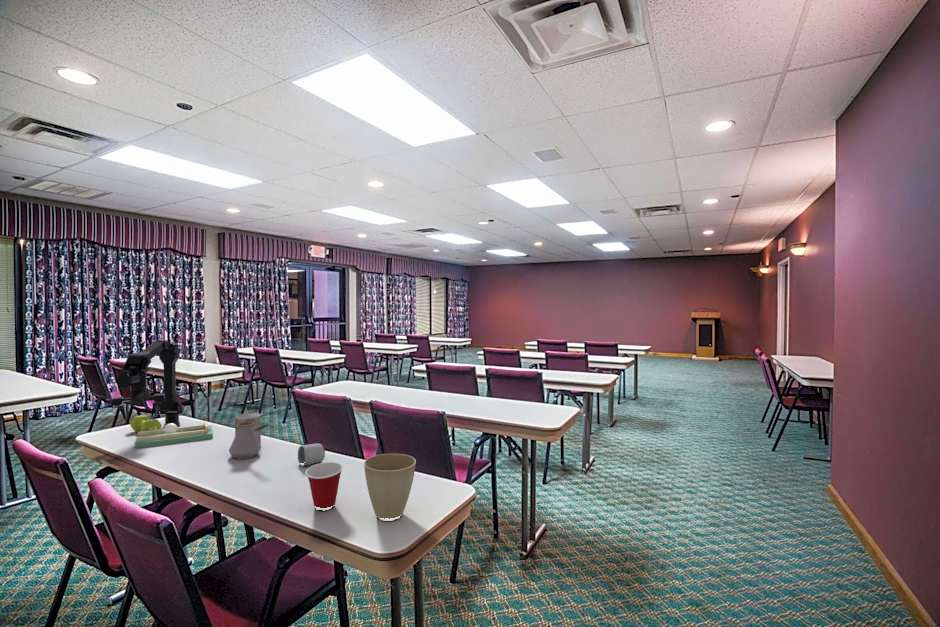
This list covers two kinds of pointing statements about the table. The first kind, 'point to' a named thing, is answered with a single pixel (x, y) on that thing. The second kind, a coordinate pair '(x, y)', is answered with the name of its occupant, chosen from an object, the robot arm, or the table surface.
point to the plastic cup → (324, 483)
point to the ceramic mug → (311, 454)
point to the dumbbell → (144, 424)
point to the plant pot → (389, 483)
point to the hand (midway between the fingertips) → (138, 419)
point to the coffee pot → (246, 441)
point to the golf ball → (170, 428)
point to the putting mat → (174, 435)
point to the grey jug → (249, 418)
